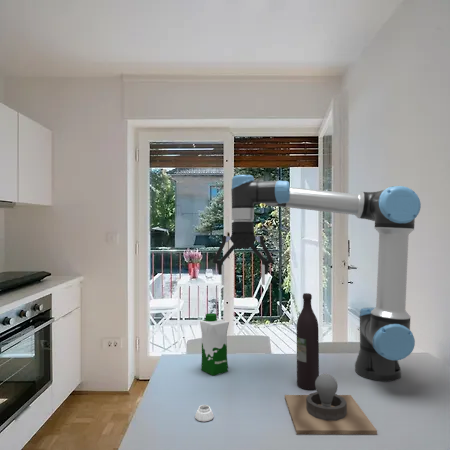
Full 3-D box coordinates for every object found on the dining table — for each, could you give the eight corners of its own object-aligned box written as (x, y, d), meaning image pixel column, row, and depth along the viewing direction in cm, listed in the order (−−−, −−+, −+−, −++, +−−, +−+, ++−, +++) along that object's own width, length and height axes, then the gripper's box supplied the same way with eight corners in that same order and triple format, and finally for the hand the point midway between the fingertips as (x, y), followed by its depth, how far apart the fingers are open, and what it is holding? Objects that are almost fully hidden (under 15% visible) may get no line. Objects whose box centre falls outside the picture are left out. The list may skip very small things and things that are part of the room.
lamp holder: (350, 398, 113) (350, 385, 113) (377, 434, 93) (376, 418, 93) (284, 398, 113) (284, 384, 113) (296, 434, 93) (296, 418, 93)
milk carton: (216, 364, 142) (216, 311, 142) (232, 371, 135) (231, 315, 135) (197, 370, 136) (197, 315, 137) (212, 377, 129) (212, 319, 129)
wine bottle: (298, 380, 127) (298, 291, 127) (320, 383, 124) (319, 292, 125) (295, 388, 120) (294, 295, 121) (317, 391, 118) (317, 296, 118)
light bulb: (338, 416, 100) (339, 379, 100) (316, 415, 101) (316, 378, 101) (336, 406, 106) (336, 371, 106) (314, 404, 107) (314, 369, 107)
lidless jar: (217, 416, 103) (201, 412, 105) (216, 405, 103) (201, 401, 105) (207, 424, 98) (191, 420, 101) (207, 413, 98) (191, 409, 101)
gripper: (278, 221, 130) (278, 282, 129) (206, 221, 130) (206, 282, 130) (281, 220, 122) (281, 285, 122) (205, 221, 122) (205, 286, 122)
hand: (243, 284), depth 126 cm, fingers open, 13 cm apart
